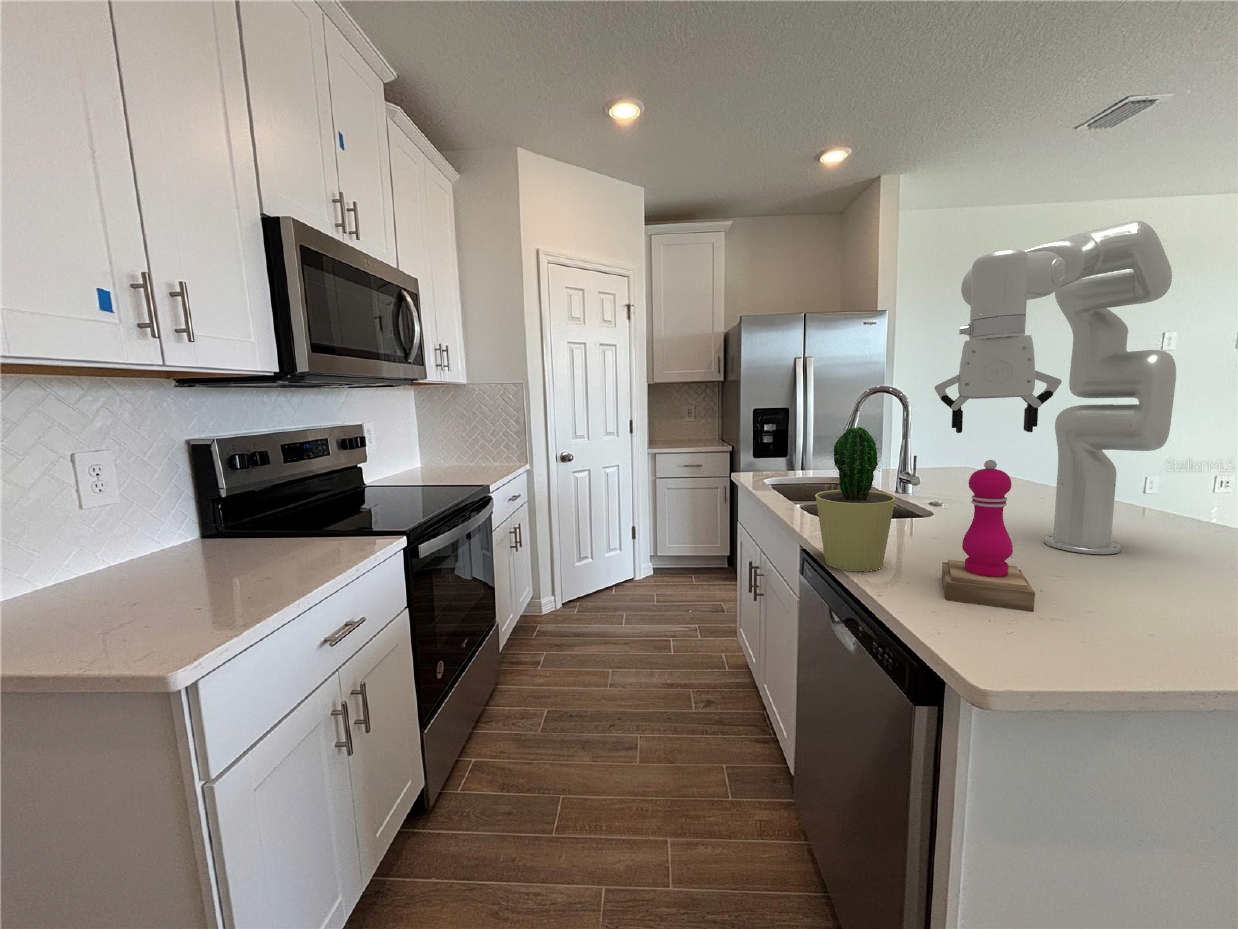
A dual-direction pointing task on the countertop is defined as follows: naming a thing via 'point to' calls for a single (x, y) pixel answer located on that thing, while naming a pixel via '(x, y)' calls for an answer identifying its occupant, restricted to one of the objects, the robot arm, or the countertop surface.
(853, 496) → the potted cactus
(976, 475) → the pepper mill
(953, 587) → the wooden box
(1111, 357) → the robot arm
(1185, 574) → the countertop surface
